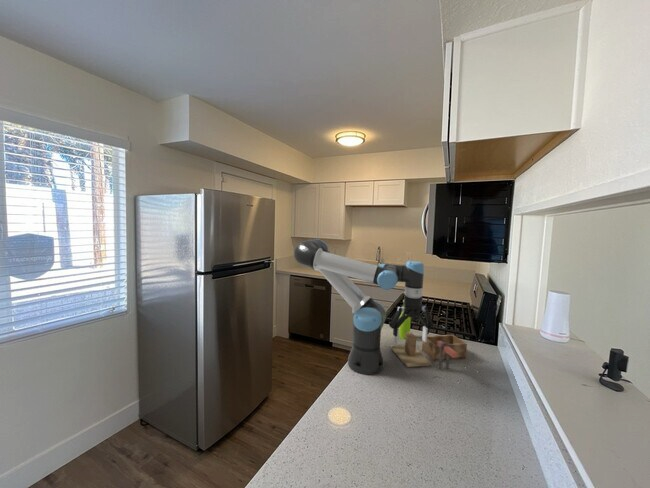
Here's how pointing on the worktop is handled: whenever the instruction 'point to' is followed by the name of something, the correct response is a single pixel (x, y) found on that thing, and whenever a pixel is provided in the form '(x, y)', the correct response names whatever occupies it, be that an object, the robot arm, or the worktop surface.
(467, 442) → the worktop surface
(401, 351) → the wooden board with post
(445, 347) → the red bar
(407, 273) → the robot arm
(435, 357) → the toolbox
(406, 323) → the soap dispenser
